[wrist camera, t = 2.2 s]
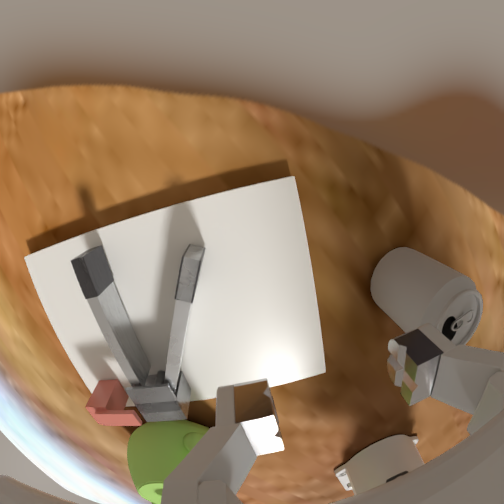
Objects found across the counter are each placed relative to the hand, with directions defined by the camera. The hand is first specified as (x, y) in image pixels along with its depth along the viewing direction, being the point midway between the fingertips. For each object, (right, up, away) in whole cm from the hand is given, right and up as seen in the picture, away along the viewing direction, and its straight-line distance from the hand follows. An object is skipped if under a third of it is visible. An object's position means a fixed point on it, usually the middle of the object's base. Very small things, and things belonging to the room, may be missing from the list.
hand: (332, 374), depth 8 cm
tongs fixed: (-14, -4, +18) cm, 23 cm away
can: (+14, +1, +21) cm, 25 cm away
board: (-11, -3, +20) cm, 23 cm away
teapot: (-12, -23, +26) cm, 37 cm away
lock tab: (-18, -13, +20) cm, 30 cm away
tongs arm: (-9, -2, +18) cm, 20 cm away
